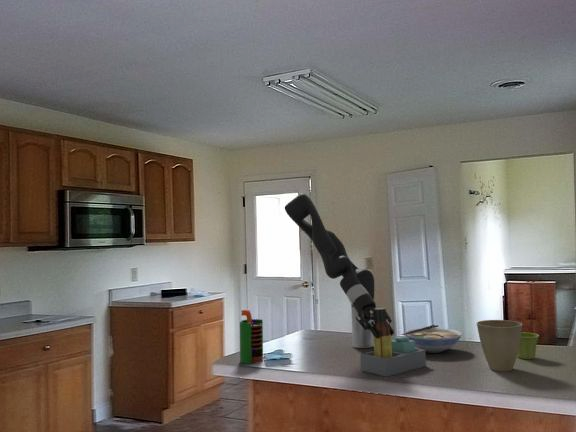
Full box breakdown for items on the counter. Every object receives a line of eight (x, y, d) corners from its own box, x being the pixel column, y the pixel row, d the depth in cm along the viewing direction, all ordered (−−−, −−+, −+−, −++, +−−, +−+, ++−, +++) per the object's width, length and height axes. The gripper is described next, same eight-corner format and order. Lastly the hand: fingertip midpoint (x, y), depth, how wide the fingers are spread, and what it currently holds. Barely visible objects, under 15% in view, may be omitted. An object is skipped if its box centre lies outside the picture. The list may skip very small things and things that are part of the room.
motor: (259, 364, 211) (257, 311, 211) (237, 363, 213) (235, 311, 213) (265, 358, 221) (264, 308, 221) (244, 357, 222) (242, 308, 223)
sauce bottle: (393, 362, 197) (392, 307, 197) (391, 367, 191) (389, 309, 191) (375, 361, 199) (373, 306, 200) (372, 366, 193) (370, 309, 194)
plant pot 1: (469, 368, 194) (467, 322, 195) (498, 362, 202) (496, 318, 202) (504, 376, 181) (502, 328, 182) (533, 370, 189) (531, 323, 189)
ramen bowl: (440, 360, 207) (439, 338, 207) (391, 352, 224) (391, 332, 225) (475, 349, 224) (474, 329, 224) (427, 342, 241) (426, 323, 241)
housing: (400, 360, 209) (399, 345, 209) (425, 366, 199) (425, 349, 199) (361, 370, 196) (360, 354, 196) (386, 376, 186) (385, 359, 187)
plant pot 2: (540, 355, 209) (539, 332, 210) (540, 361, 201) (538, 337, 201) (513, 354, 213) (512, 331, 214) (512, 359, 205) (511, 336, 205)
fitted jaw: (400, 359, 205) (400, 335, 206) (415, 363, 200) (414, 337, 200) (390, 362, 202) (389, 337, 202) (404, 365, 196) (403, 339, 196)
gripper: (369, 304, 210) (394, 339, 200) (341, 308, 201) (366, 345, 192) (379, 291, 206) (404, 326, 196) (351, 294, 197) (376, 332, 187)
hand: (385, 335), depth 194 cm, fingers closed on sauce bottle, 6 cm apart
